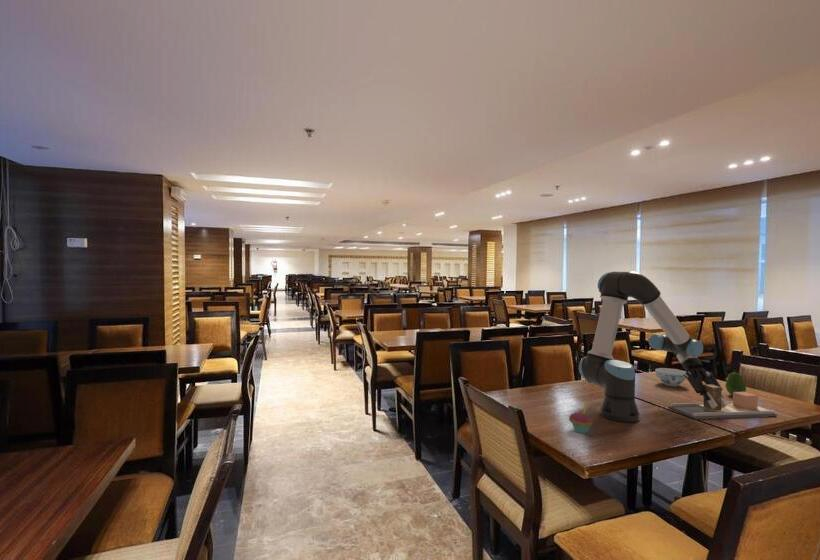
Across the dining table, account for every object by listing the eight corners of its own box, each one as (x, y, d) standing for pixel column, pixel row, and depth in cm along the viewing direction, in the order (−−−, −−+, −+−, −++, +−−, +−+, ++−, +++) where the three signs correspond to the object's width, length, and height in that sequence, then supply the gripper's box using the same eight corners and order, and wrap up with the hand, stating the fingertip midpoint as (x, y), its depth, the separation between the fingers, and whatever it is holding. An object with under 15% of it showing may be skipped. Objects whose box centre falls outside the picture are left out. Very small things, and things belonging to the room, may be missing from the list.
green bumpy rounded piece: (729, 392, 204) (729, 370, 204) (748, 396, 198) (748, 373, 198) (723, 395, 200) (723, 372, 200) (742, 399, 193) (742, 375, 193)
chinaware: (673, 381, 228) (673, 367, 227) (694, 388, 213) (694, 374, 213) (649, 381, 227) (649, 368, 227) (668, 388, 212) (668, 374, 212)
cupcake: (588, 427, 157) (588, 397, 157) (596, 435, 148) (596, 404, 148) (566, 426, 158) (566, 397, 158) (572, 435, 149) (572, 403, 149)
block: (745, 409, 173) (745, 396, 173) (732, 405, 179) (732, 392, 179) (757, 409, 173) (757, 395, 173) (744, 404, 179) (744, 391, 179)
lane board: (695, 419, 166) (695, 414, 166) (668, 407, 181) (668, 402, 181) (776, 416, 169) (776, 411, 169) (743, 405, 184) (743, 400, 184)
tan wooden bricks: (717, 413, 169) (717, 389, 169) (698, 406, 179) (698, 383, 179) (770, 412, 172) (770, 387, 172) (748, 404, 182) (748, 381, 182)
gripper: (701, 365, 191) (732, 410, 174) (668, 365, 189) (696, 411, 173) (710, 356, 185) (743, 402, 169) (677, 357, 184) (707, 403, 167)
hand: (719, 406), depth 171 cm, fingers closed on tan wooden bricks, 4 cm apart
